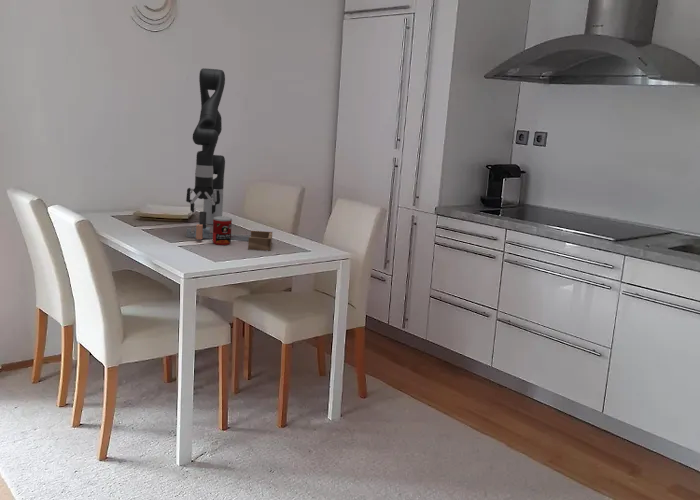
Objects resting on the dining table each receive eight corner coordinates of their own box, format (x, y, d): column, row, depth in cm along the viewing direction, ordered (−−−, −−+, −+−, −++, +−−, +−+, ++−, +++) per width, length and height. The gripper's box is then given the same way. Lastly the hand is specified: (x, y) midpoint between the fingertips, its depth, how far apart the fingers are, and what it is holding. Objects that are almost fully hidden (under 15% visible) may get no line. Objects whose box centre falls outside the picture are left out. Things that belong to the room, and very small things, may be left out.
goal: (250, 241, 291) (251, 230, 290) (271, 243, 292) (272, 231, 291) (248, 249, 277) (248, 237, 276) (270, 250, 277) (270, 239, 276)
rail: (187, 235, 293) (187, 227, 292) (256, 240, 295) (256, 232, 295) (186, 237, 290) (186, 229, 289) (255, 241, 293) (256, 233, 292)
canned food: (215, 245, 279) (216, 219, 276) (210, 241, 286) (211, 216, 283) (233, 245, 282) (234, 219, 280) (227, 241, 289) (228, 216, 287)
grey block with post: (196, 234, 294) (196, 210, 292) (209, 235, 295) (210, 211, 292) (191, 240, 282) (192, 215, 279) (205, 241, 282) (206, 216, 280)
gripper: (221, 176, 290) (220, 212, 294) (188, 173, 289) (187, 210, 292) (219, 177, 283) (218, 215, 286) (185, 175, 282) (184, 213, 285)
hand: (202, 212), depth 289 cm, fingers open, 8 cm apart
